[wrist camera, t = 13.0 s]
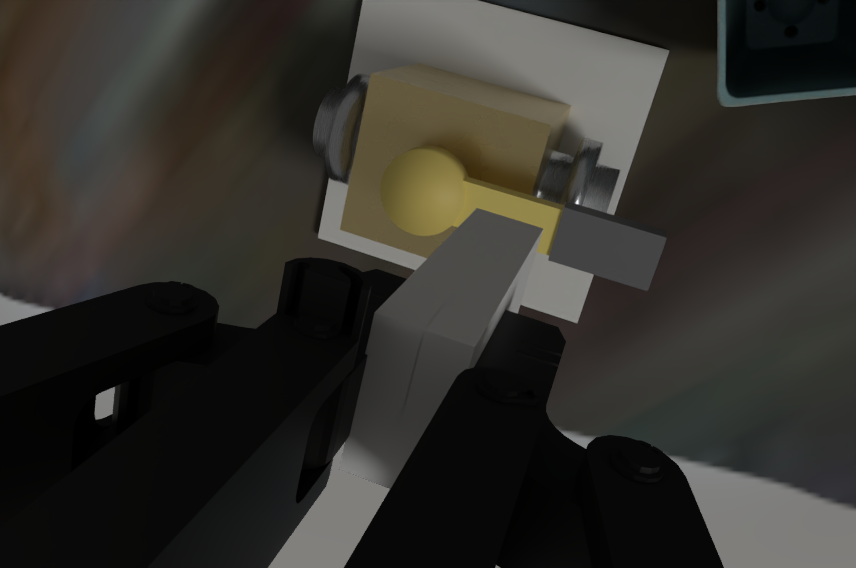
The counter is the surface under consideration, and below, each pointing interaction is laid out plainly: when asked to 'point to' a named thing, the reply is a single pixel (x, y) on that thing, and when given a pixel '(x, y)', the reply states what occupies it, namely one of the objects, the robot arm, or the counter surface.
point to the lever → (518, 217)
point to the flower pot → (785, 51)
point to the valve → (450, 144)
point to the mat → (523, 71)
